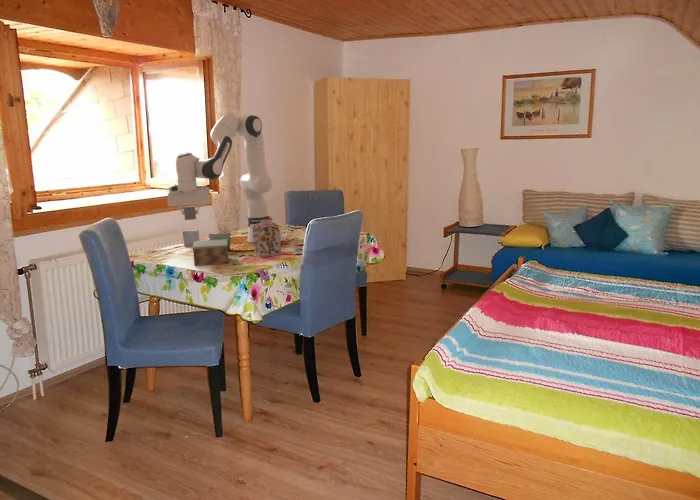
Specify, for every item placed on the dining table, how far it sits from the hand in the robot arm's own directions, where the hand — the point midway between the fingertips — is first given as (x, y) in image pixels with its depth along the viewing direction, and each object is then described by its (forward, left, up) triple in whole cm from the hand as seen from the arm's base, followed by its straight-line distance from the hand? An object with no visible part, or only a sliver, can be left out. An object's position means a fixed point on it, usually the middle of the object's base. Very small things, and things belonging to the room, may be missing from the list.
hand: (190, 214), depth 271 cm
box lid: (-9, +9, -15) cm, 19 cm away
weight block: (0, 0, -2) cm, 2 cm away
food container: (-14, -13, -23) cm, 30 cm away
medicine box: (+3, -35, -23) cm, 42 cm away
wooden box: (-9, +9, -23) cm, 26 cm away
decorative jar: (-37, +2, -23) cm, 44 cm away
